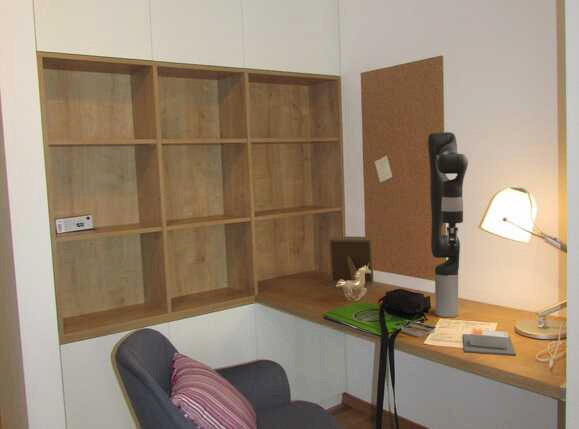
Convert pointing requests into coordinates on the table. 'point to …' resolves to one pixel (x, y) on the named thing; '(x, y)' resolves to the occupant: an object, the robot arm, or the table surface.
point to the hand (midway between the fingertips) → (452, 253)
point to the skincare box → (489, 338)
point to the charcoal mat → (487, 348)
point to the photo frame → (350, 257)
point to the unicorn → (355, 283)
